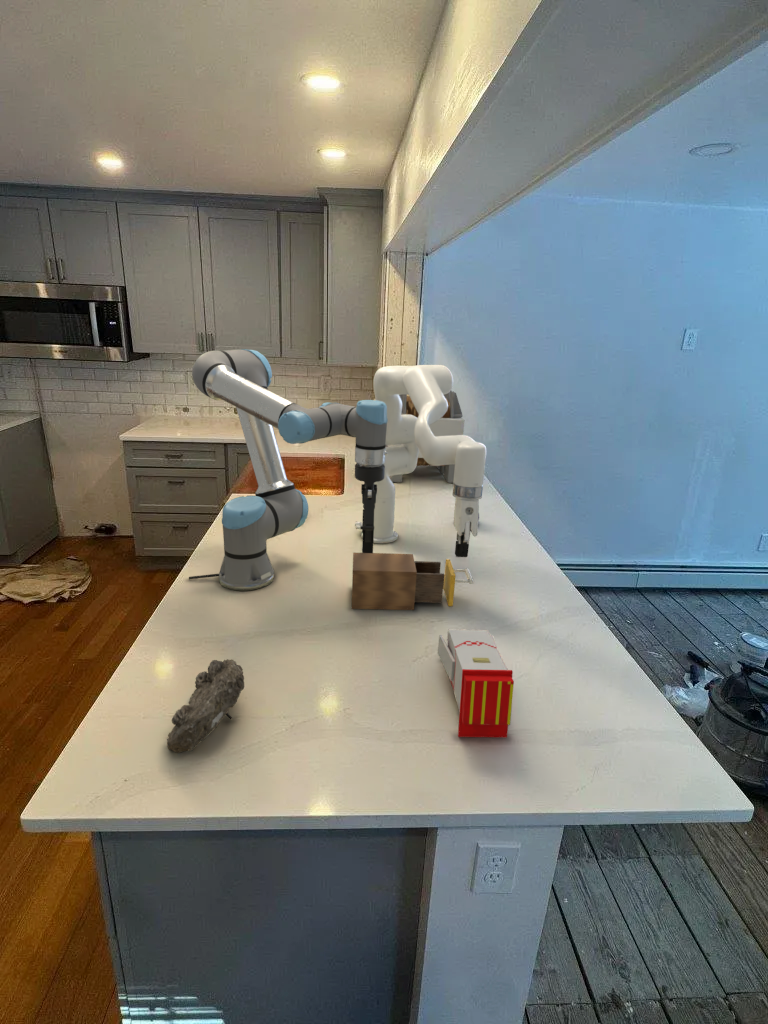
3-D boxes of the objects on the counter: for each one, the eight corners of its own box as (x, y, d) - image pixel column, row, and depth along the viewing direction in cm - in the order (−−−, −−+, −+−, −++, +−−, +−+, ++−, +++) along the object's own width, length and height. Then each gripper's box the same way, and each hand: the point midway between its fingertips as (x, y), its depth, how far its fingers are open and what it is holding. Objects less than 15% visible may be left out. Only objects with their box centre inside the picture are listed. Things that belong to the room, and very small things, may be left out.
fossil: (192, 660, 117) (244, 628, 112) (224, 691, 120) (276, 661, 115) (142, 746, 98) (202, 712, 93) (182, 779, 101) (242, 748, 96)
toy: (488, 613, 130) (523, 677, 101) (484, 667, 133) (517, 744, 104) (435, 612, 130) (455, 676, 101) (432, 666, 133) (451, 743, 103)
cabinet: (410, 590, 160) (412, 553, 157) (413, 610, 150) (416, 571, 146) (352, 588, 160) (353, 552, 156) (351, 608, 149) (352, 570, 145)
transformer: (382, 463, 289) (386, 382, 275) (445, 464, 293) (451, 384, 279) (390, 482, 257) (394, 392, 243) (460, 483, 261) (468, 394, 247)
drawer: (465, 589, 160) (468, 559, 157) (472, 606, 151) (475, 576, 148) (394, 587, 159) (395, 557, 156) (396, 605, 150) (397, 574, 147)
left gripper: (387, 478, 130) (383, 562, 137) (383, 452, 153) (380, 525, 161) (354, 477, 130) (352, 561, 137) (355, 451, 153) (353, 524, 160)
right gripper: (488, 500, 138) (480, 568, 144) (476, 482, 152) (470, 545, 158) (457, 499, 138) (451, 567, 144) (448, 481, 152) (443, 544, 158)
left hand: (367, 542), depth 149 cm, fingers open, 13 cm apart
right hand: (461, 555), depth 151 cm, fingers closed
